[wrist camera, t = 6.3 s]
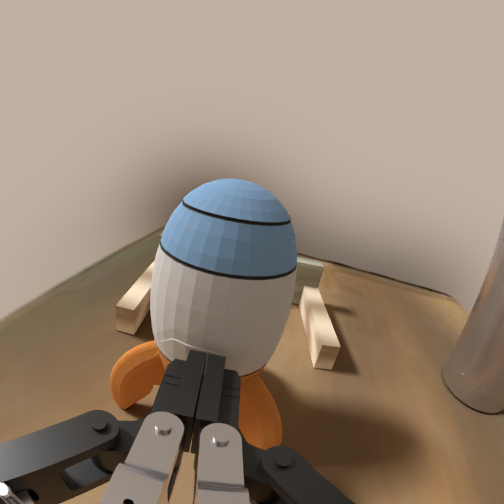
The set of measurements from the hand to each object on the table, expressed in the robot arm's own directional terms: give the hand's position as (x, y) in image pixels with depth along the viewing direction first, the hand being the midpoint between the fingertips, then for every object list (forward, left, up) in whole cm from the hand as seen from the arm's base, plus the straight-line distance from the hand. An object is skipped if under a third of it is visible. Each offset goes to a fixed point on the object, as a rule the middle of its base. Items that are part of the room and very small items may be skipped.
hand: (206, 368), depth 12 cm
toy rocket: (-2, -2, -7) cm, 8 cm away
